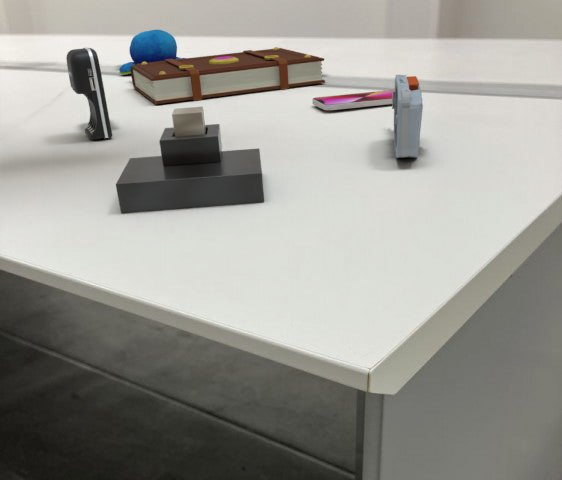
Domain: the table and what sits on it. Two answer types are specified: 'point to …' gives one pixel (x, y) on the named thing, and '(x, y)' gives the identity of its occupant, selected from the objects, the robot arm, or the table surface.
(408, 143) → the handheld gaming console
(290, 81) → the book
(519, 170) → the table surface
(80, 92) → the black curved upright piece
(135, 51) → the plush toy
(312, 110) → the table surface
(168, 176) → the grey stepped pedestal
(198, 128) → the beige cube
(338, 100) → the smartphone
